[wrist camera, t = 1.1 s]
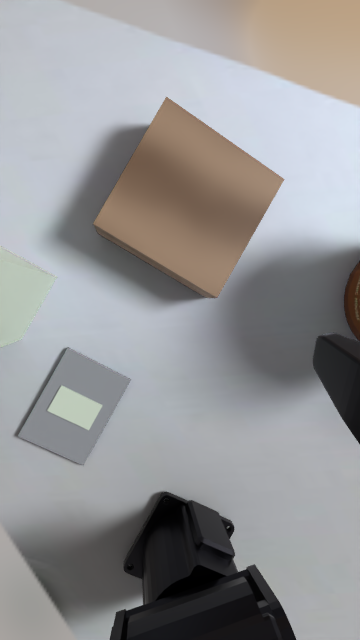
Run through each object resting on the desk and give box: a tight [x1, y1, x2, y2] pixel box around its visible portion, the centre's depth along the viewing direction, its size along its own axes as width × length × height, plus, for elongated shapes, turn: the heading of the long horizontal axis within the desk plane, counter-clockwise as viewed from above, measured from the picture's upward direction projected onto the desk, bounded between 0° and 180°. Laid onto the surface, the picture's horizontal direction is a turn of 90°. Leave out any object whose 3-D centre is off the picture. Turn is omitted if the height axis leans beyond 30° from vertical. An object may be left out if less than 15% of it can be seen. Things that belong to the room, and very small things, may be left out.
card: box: [18, 348, 131, 465], centre depth 23 cm, size 7×5×1 cm
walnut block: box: [93, 97, 284, 298], centre depth 22 cm, size 9×9×4 cm
